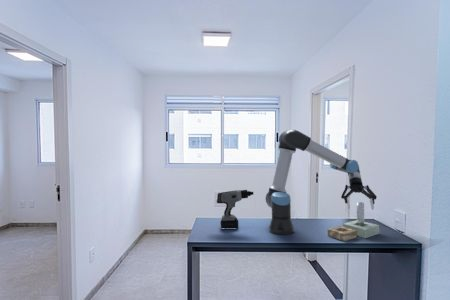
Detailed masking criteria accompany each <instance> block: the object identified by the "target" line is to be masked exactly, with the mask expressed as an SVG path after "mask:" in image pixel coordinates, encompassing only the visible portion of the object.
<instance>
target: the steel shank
mask: <svg viewBox="0 0 450 300" xmlns="http://www.w3.org/2000/svg"><path fill="white" fill-rule="evenodd" d="M356 220H357V225H358V226H362V227H364V222H365V203H364V202H361V201H358V202H356Z"/></svg>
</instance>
